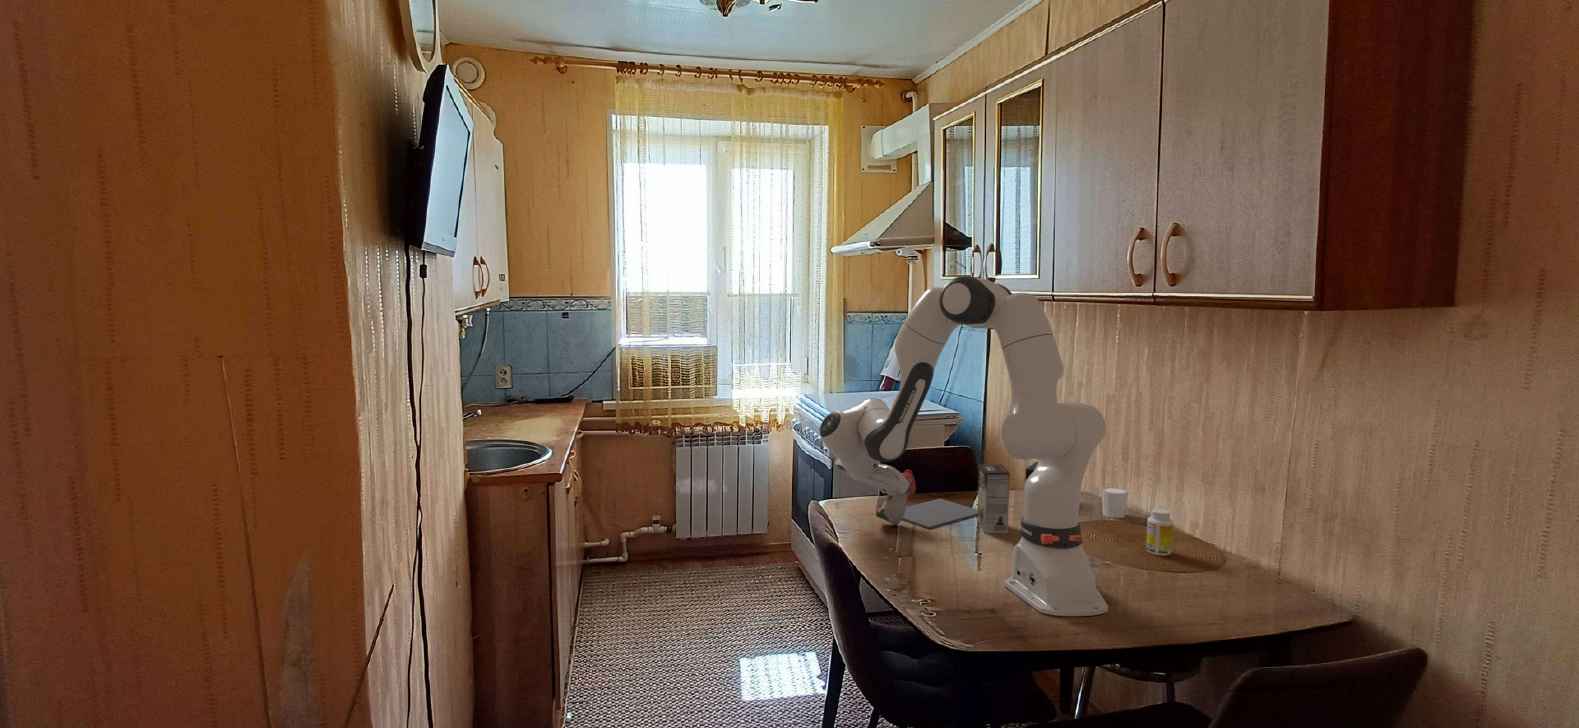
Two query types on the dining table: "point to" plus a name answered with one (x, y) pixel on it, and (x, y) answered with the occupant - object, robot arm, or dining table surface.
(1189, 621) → the dining table surface
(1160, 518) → the supplement bottle
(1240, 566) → the dining table surface
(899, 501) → the decorative ornament
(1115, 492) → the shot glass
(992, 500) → the coffee box
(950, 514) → the mat
